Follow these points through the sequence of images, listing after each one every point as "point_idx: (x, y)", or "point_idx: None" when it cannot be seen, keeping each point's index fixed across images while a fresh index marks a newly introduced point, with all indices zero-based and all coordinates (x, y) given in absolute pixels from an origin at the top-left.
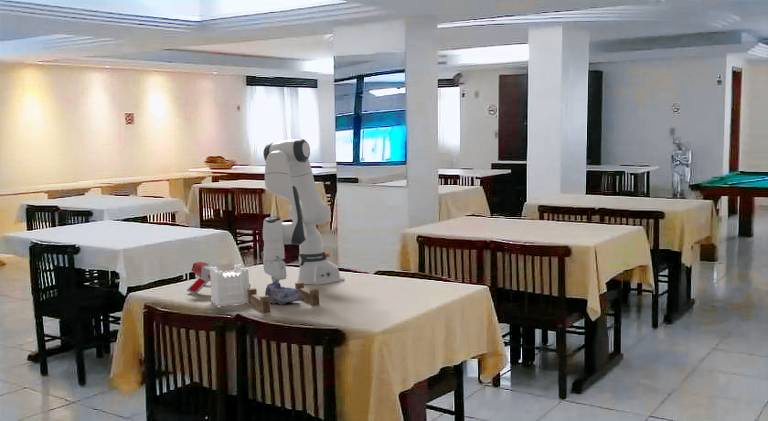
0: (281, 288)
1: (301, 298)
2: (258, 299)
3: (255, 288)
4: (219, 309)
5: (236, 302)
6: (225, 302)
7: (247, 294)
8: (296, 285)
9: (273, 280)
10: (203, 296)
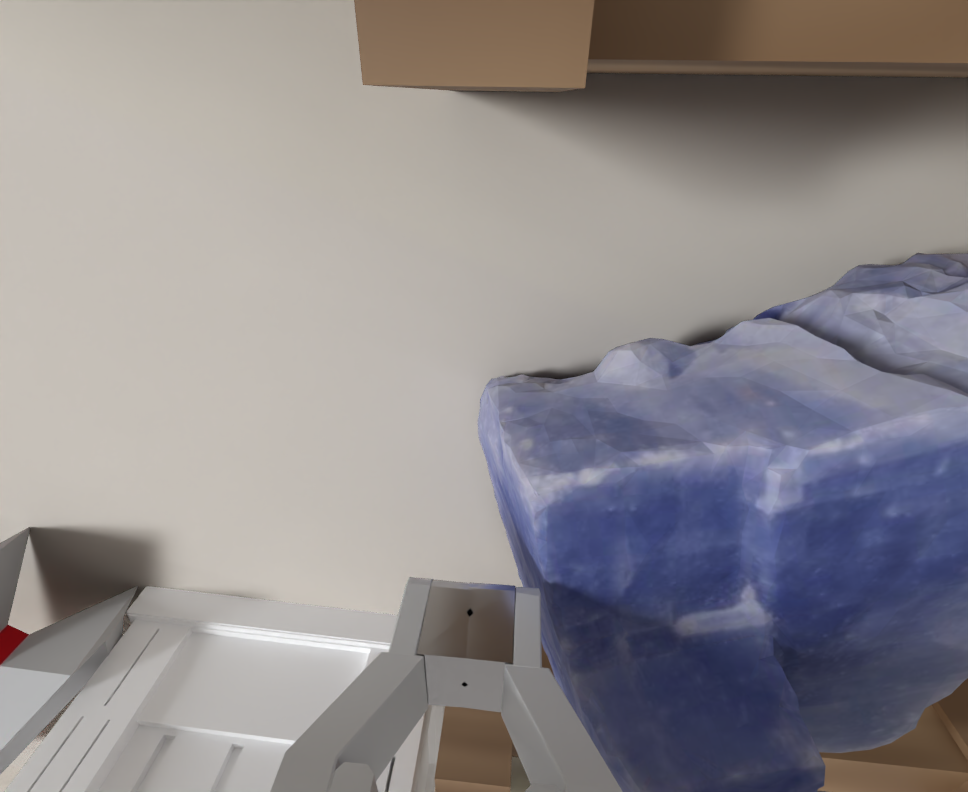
0: (855, 655)
1: (753, 74)
2: (826, 787)
3: (467, 782)
4: (516, 768)
5: (443, 713)
6: (428, 759)
7: (423, 727)
8: (512, 88)
9: (399, 738)
10: (58, 713)
